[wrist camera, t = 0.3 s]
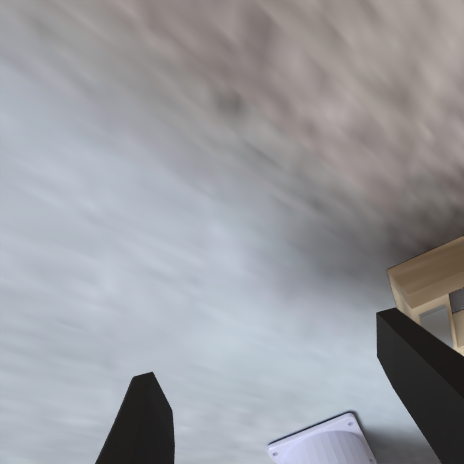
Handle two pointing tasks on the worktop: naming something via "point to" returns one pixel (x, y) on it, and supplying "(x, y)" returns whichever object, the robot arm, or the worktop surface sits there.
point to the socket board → (432, 291)
